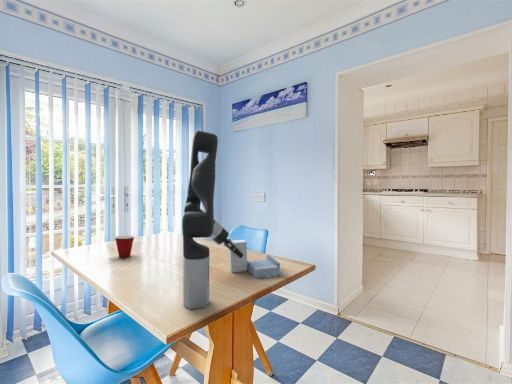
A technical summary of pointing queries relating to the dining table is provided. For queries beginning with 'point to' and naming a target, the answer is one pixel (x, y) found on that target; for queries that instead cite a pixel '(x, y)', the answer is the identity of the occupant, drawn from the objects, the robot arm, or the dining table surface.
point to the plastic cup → (124, 245)
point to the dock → (264, 267)
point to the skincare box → (235, 261)
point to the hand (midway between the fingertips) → (239, 254)
